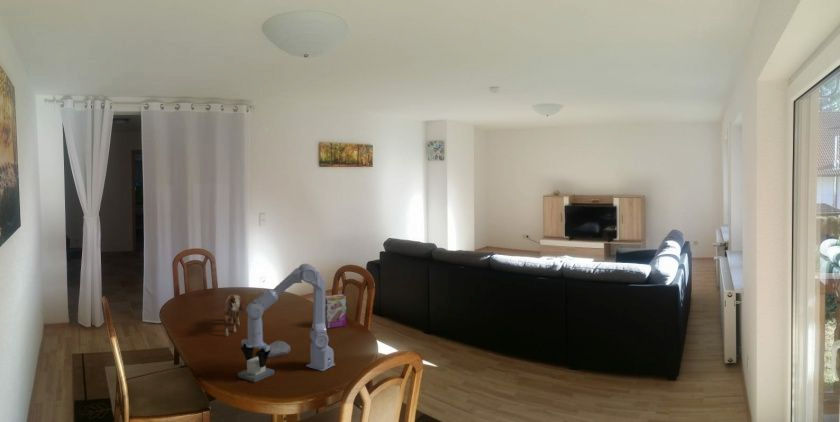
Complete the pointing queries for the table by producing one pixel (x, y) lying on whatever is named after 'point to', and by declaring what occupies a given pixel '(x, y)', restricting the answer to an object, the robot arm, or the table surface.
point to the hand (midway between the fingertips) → (256, 364)
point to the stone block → (278, 349)
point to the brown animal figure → (232, 310)
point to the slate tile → (256, 377)
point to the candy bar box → (335, 311)
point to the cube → (254, 366)
